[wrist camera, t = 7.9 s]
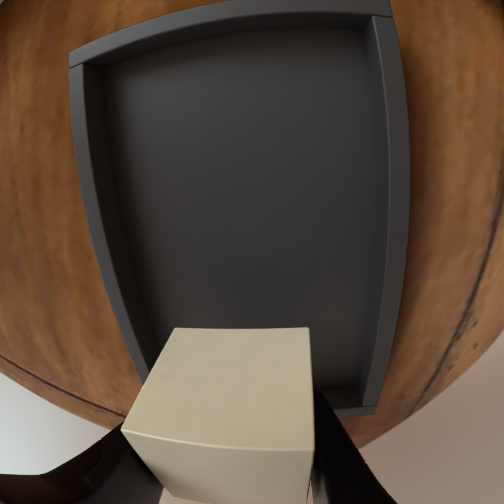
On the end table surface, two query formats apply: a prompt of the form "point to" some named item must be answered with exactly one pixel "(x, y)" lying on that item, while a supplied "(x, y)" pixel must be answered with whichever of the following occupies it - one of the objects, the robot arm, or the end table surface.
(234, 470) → the block
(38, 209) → the end table surface
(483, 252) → the end table surface
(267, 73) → the tray
